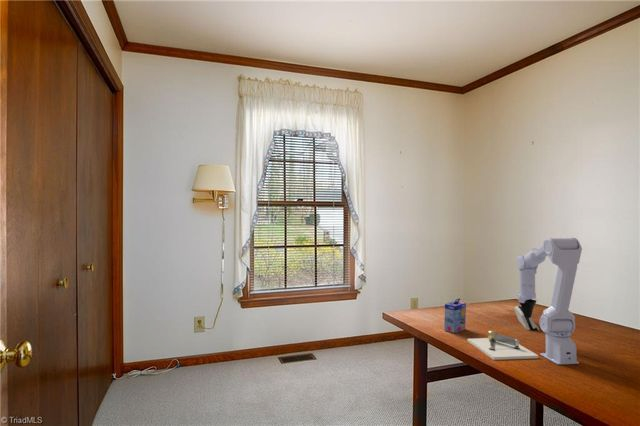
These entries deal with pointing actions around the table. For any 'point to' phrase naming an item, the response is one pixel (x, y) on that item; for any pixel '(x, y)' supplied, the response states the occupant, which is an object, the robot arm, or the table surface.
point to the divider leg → (502, 338)
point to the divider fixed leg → (492, 345)
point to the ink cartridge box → (455, 316)
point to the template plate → (501, 350)
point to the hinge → (525, 319)
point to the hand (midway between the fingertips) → (527, 317)
